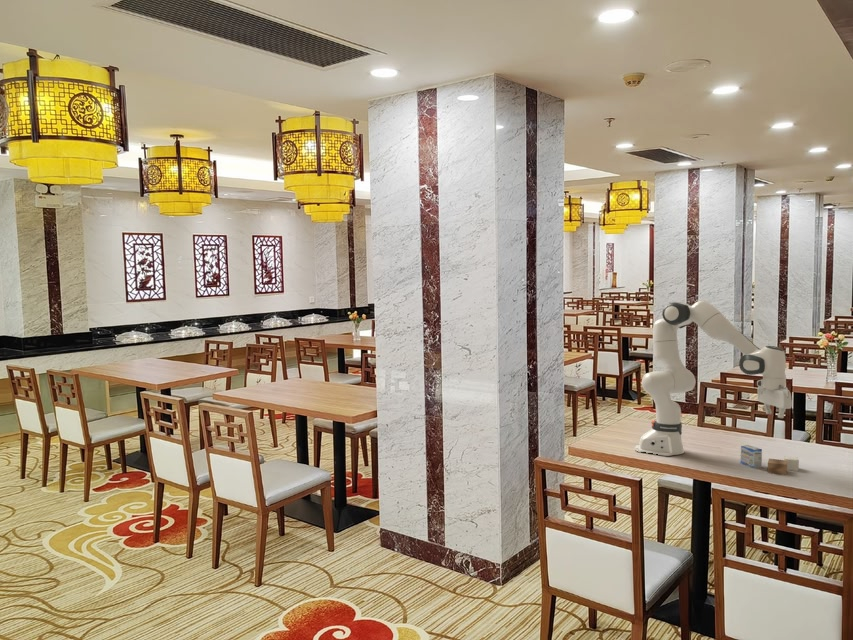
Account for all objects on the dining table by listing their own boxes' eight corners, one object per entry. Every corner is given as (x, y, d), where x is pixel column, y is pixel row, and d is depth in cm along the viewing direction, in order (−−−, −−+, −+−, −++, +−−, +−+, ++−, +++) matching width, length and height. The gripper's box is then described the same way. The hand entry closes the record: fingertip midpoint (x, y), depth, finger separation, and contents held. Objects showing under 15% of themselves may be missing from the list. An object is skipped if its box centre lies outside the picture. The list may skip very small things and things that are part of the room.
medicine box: (740, 464, 299) (740, 445, 299) (747, 463, 301) (748, 444, 300) (754, 469, 292) (754, 449, 291) (762, 468, 293) (762, 448, 293)
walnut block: (767, 474, 285) (767, 462, 285) (768, 469, 291) (768, 458, 291) (786, 476, 282) (786, 464, 281) (786, 471, 288) (787, 460, 287)
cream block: (785, 470, 289) (785, 459, 289) (784, 467, 294) (784, 456, 294) (798, 471, 287) (798, 460, 287) (797, 468, 292) (797, 457, 292)
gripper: (796, 387, 276) (796, 420, 276) (768, 380, 296) (768, 411, 297) (781, 387, 275) (781, 420, 276) (754, 381, 296) (754, 412, 296)
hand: (774, 415), depth 287 cm, fingers open, 8 cm apart
